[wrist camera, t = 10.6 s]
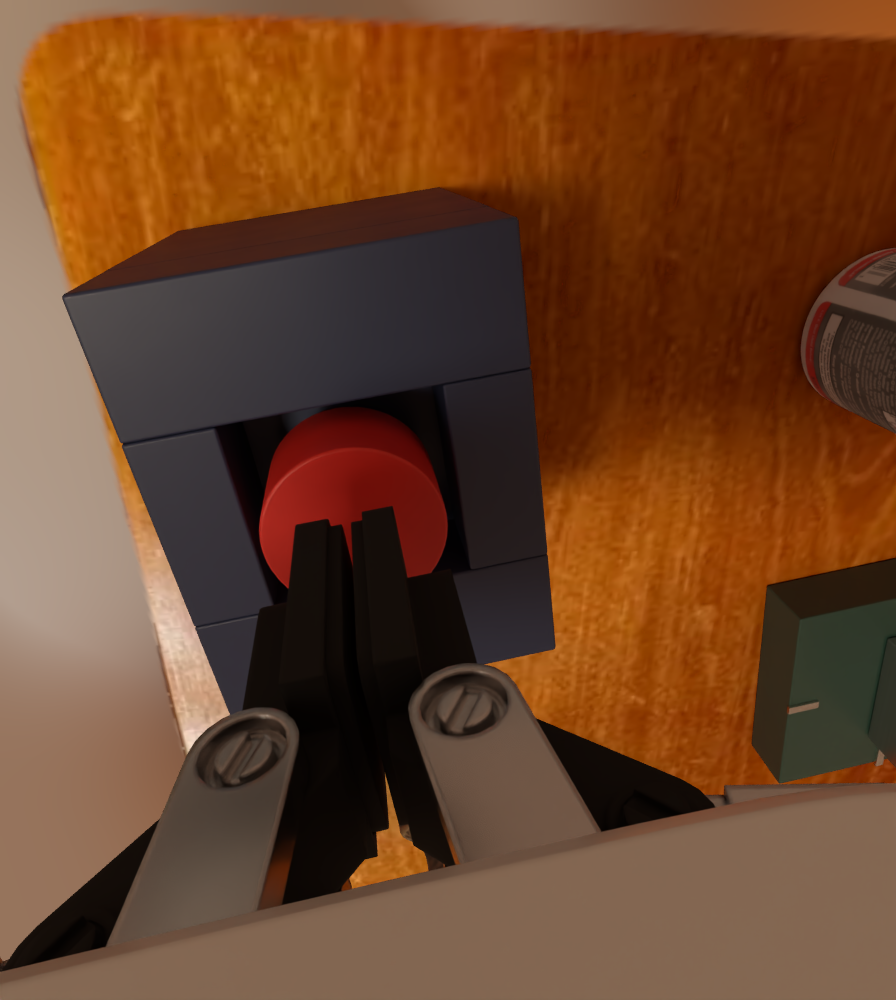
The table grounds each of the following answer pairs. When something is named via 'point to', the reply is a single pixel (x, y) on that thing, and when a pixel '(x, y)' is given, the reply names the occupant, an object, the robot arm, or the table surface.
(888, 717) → the tap handle
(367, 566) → the robot arm
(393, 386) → the button box
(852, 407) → the pill bottle
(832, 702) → the panel
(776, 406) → the table surface
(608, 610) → the table surface
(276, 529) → the red button
